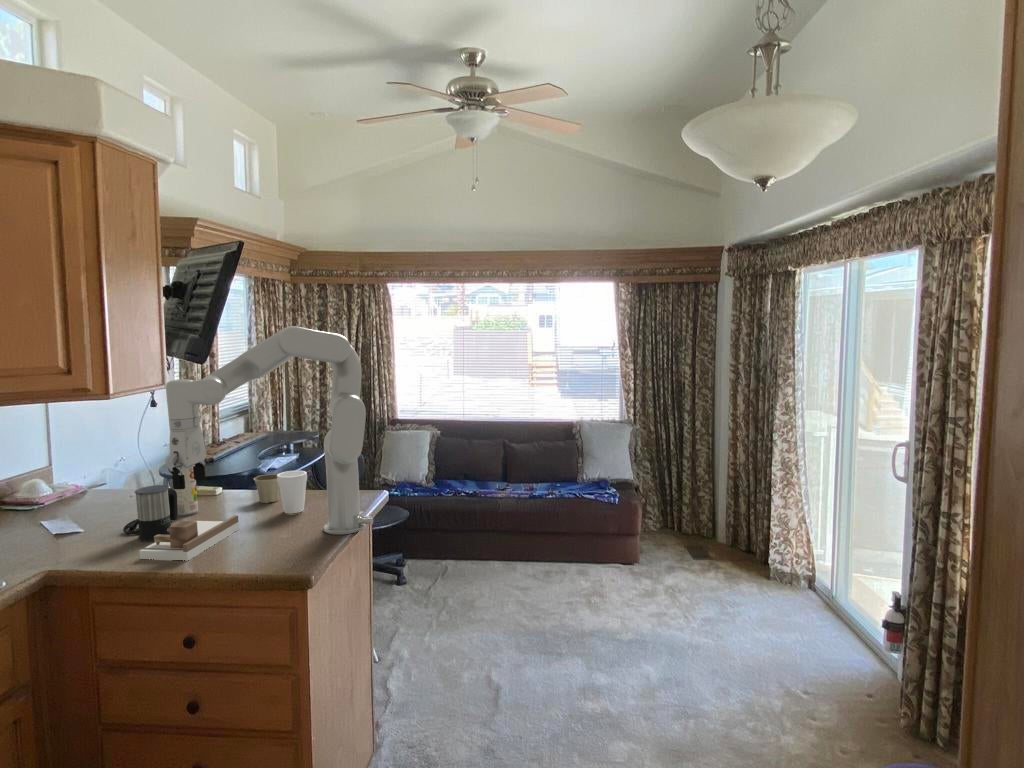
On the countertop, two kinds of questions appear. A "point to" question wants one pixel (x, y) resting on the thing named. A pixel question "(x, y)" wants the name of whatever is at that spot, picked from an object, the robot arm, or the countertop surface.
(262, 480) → the flower pot
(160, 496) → the milk frother
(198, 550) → the board
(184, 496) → the aerosol can
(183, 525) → the wooden block
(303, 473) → the foam cup
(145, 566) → the countertop surface
